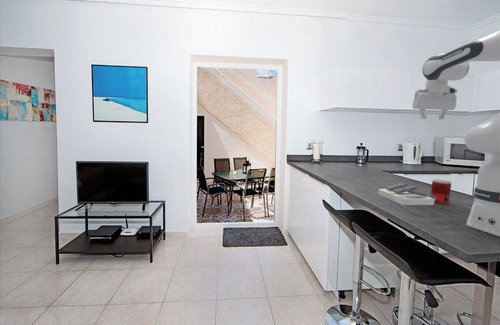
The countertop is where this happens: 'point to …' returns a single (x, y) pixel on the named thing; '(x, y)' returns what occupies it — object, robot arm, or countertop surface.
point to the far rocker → (396, 186)
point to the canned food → (441, 191)
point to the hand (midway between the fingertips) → (432, 119)
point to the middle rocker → (410, 187)
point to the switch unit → (406, 198)
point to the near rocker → (414, 192)
